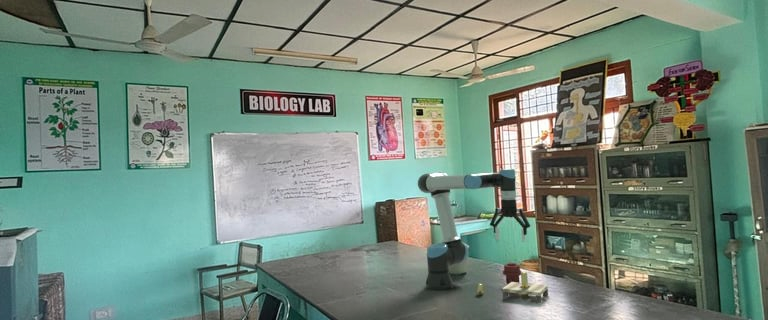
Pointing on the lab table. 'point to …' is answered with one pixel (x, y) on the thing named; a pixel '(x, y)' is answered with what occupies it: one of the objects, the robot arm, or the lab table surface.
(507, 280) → the mechanical component
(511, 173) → the robot arm
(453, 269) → the canister
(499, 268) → the lab table surface
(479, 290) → the short pin
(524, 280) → the long pin
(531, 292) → the stand
